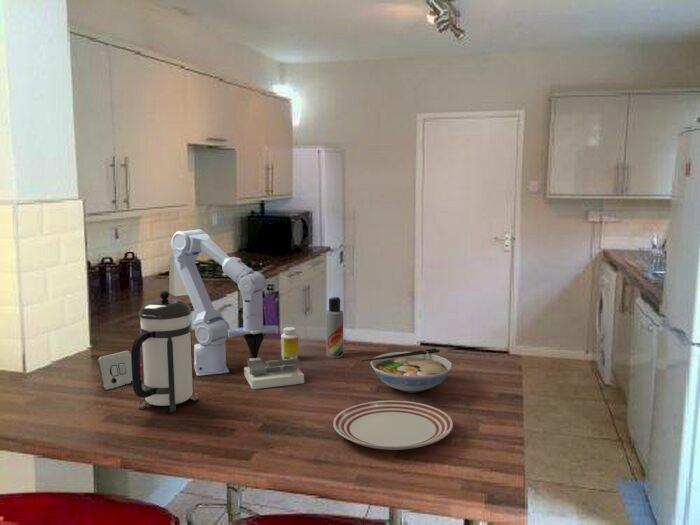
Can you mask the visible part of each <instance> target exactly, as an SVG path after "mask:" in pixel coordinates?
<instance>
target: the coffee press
mask: <svg viewBox="0 0 700 525" xmlns="http://www.w3.org/2000/svg"><path fill="white" fill-rule="evenodd" d="M169 296H170V293H169V292H168V291H167V290H162V291H161V292H160V293H159V297H160V299H154V300H151V301H148V302H145V303H144V304H143V305H142V306H141V308H140V310H139V311H138V317H139V319H140V327H139V333H140V334H139V335H137V337H136V338H135V339H134V341H133V344H132V346H131V352H130V353H131V361H132V381H133V382H132V389H133V392H134V394H135V396H136V397H139V398H141V400H140V401H139V402H138V408H139V409H140V410H143V409H145V408H146V407H147V406H148V405H149V404H150V405H153V406H157V407H158V406H160V407H162V406H163V407H166V406H168V409H169V413H170V414H176V413H177V408H176V407H177V406H176V405H179V404H181V403H184V402H186V401H188V400H189V399H191V400H192V401H194V402H195V401H196V402H197V401H198V400H199V396H198V394H197V393H196V391H194V372H193V371H194V369H193V367H194V363H193V343H192V342H193V341H192V338H193V337H192V323H191V313H192V309H191V307H190V306H189V304H188V303H187V302H186V301H184V300H182V299H175V298H169ZM140 356H141V359H140ZM141 376H142V377H141ZM141 378H142V379H141ZM193 393H194V394H195V395H196V397H195V398H193V397H192V395H193ZM144 400H145V401H146V403H144V405H143V406H141V405H142V403H143V402H144Z"/></svg>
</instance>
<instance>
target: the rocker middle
mask: <svg viewBox="0 0 700 525" xmlns="http://www.w3.org/2000/svg"><path fill="white" fill-rule="evenodd" d="M263 363H264V366H265V367H277V366H283V363H282V361H280V360H278V359H273V360H266V361H263Z"/></svg>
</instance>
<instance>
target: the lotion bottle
mask: <svg viewBox="0 0 700 525" xmlns="http://www.w3.org/2000/svg"><path fill="white" fill-rule="evenodd" d="M325 336H326V337H325V338H326V340H325V341H326V342H325V344H326V345H325V346H326V347H325V350H326V353H325V355H326V357H327V358H330V359H339V357H340V358H343V356H344V311H342V310H341V298H340V297H339V296H334V297H333V296H332V297H330V298H328V310H326V312H325Z"/></svg>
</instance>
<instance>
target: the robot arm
mask: <svg viewBox="0 0 700 525" xmlns="http://www.w3.org/2000/svg"><path fill="white" fill-rule="evenodd" d="M169 244H170V247H171V249H172V252H173V253H174V257H175V264H176V267H177V269H178V271H179V274H180V276H181V279H182V281H183V283H184V286H185V288H186V291H187V293H188V295H187V296H188V298H189V301H190V303H191V305H192V307H193V310H194V312H195V315H196V318H195V319H194V321H193V324H192V325H193V328H194V332H195V338H196V340H197V341H198V343H195V344H194V345H193V346H194V347H193V352H194V353H193V357H194V359H193V360H194V361H193V367H194V370H195V371H194V372H195V374H196V376H197V377H199V376H211V375H219V374H228V373H230V371H229V368H228V367H227V360H226V359H227V358H226V341H227V338H233V337H234V338H235V337H243V338H244V341H245V343H246V344H247V347H248V350H249V353H250V358H258V354H259V349H260V347H261V345H262V342H264V335H265V334H279V326H278V325H264V309H263V308H264V307H263V304H264V303H263V290H264V289H265V288H266V286H267V280H266V277H265V275H264V274H263V273H262V272H261V271H254V270H253V269H252V268H251V267H249V266H248V265H246V264H245V263H244V262H243V261H242V259H241V258H240V257H236V256H231V257H230V256H229V255H228V254H227V253H226V252H225V251H224V250H223V249H222V248H221V247H219V246H218V245H217V244H216V243H215V242H214V241H213V240H212V239H211V237H210V235H209V234H207V233H206V232H205V231H204V230H203V229H199V228H197V229H194V230H192V229H191V230H183V231H182V230H178V231H175V233H174V234H173V236H172V238H171V240H170V243H169ZM201 253H204V254H205V255H206V256H207V257H209V258H210V259H212V260H213V261H214V262H216V263H217V264H219V265H220V266H222V267H221V268H222V272H223V274H225V275H226V276H227V277H229V278H230V279H231V280H232V281H234V282H235V283H236V284H237V288H238V291H240V294H241V298H242V321H243V322H242V323H243V327H238V328H230V324H229V322H228V321H227V320H226V319H225V318H224V316H223V313H222V312H220V311H218V310H217V309H215V307H214V305H213V303H212V301H211V299H210V296H209V293H208V291H207V289H206V286H205V283H204V281H203V279H202V277H201V275H200V272H199V270H198V267H197V265H196V261H197V259H198V257H199V256H200V255H201Z"/></svg>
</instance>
